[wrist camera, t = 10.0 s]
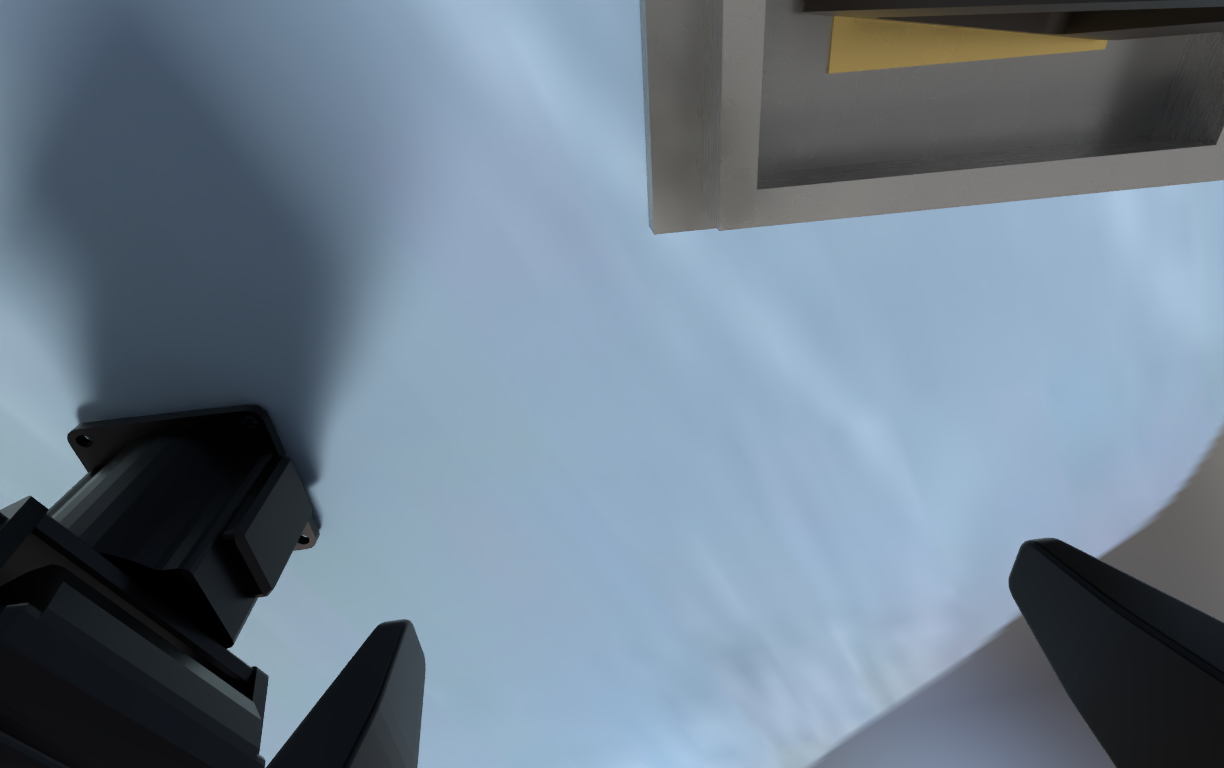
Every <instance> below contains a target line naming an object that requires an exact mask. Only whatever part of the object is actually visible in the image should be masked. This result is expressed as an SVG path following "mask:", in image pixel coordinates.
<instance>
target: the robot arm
mask: <svg viewBox="0 0 1224 768" xmlns="http://www.w3.org/2000/svg"><path fill="white" fill-rule="evenodd" d="M247 417H252V418H254V419H255V420H256V421H257V423H254V422H251V421H249V420H248V418H247ZM85 436H87V437H89V438H90V439H91V440H92V441H91V440H89V439H87V438H86V437H85ZM67 439H68V442H69V444H70V445H71V447H72V449H73V450H74V452H75V453H76V455H77V456H78V458H79V459H80V461H81V462H82V464H83V465H84V467H85V468H86V470H87V472H88V474H86V475H85V476H84V477H83V478H82V479H81V480H80V481H79V482H78V483H77V484H76V485H75V486H74V487H72V488H71V489H70V490H69V491H68V492H67V493H66V494H65V495H64V496H63V497H62V498H61V499H60V500H59V501H57V502H56V503H55V504H54V505H53V506H52V507H51V508H50V509H47V508H46V507H45V506H43V505H42V504H41V503H40V502H38V501H37V500H36V499H34V498H33V497H32V496H28V497H26V498H24V499H22V500H20V501H18V502H16V503H13V504H11V505H9V506H7V507H5V508H3V509H1V510H0V768H265V759H264V758H263V757H262V756H260V755H259V751H260V743H261V735H262V726H263V718H264V710H265V702H266V694H267V686H268V675H267V674H265V673H264V672H263V671H261V670H260V669H259V668H257V667H256V666H254V667H250V666H249V665H247V664H246V663H245V662H243V661H242V660H241V659H239V658H238V657H237V656H235V655H234V654H233V653H231V652H230V651H229V650H227V648H230V647H232V646H233V645H234V643H235V641H236V639H237V637H238V635H239V633H240V631H241V629H242V628H243V626H244V624H245V622H246V620H247V618H248V616H249V614H250V612H251V610H252V608H253V606H254V605H255V603H256V601H257V599H258V597H265V596H268V595H269V594H270V593H271V591H272V590H273V589H274V587H275V585H276V583H277V581H278V579H279V577H280V575H281V573H282V571H283V569H284V567H285V565H286V563H287V561H288V560H289V558H290V556H291V554H292V552H293V551H294V550H302V549H308V548H312V547H313V546H314V545H315V543H316V541H317V539H318V537H319V535H320V534H319V530H318V527H317V525H316V523H315V520H314V518H313V516H312V512H313V508H312V506H311V504H310V501H309V499H308V497H307V494H306V492H305V490H304V487H303V485H302V483H301V480H300V478H299V476H298V473H297V471H296V469H295V466H294V464H293V462H292V460H291V459H290V458H289V457H288V456H286V453H285V451H284V449H283V446H282V444H281V442H280V440H279V437H278V435H277V433H276V430H275V428H274V426H273V423H272V421H271V419H270V416H269V414H268V413H267V412H266V410H264V409H263V408H262V407H259V406H257V405H241V406H232V407H223V408H214V409H205V410H196V411H187V412H178V413H169V414H160V415H151V416H142V417H133V418H124V419H115V420H106V421H97V422H88V423H82V424H79V425H78V426H77V427H76V428H74V429H73V430H72V431H71V432H70V433H69V434H68V437H67ZM301 535H305V536H307V537H304V536H301ZM1009 589H1010V592H1011V594H1012V597H1013V598H1014V600H1015V602H1016V604H1017V606H1018V607H1019V609H1020V611H1021V613H1022V615H1023V616H1024V618H1025V620H1026V622H1027V624H1028V625H1029V627H1030V629H1031V631H1032V632H1033V635H1034V636H1035V638H1036V640H1037V641H1038V643H1039V645H1040V647H1041V649H1042V651H1043V652H1044V654H1045V656H1046V658H1047V660H1048V662H1049V663H1050V665H1051V667H1052V669H1053V671H1054V672H1055V674H1056V676H1057V678H1058V679H1059V681H1060V683H1061V685H1062V686H1063V688H1064V690H1065V691H1066V693H1067V695H1068V696H1069V698H1070V699H1071V701H1072V703H1073V704H1074V706H1075V707H1076V709H1077V710H1078V712H1079V713H1080V715H1081V716H1082V718H1083V719H1084V721H1085V722H1086V724H1087V725H1088V727H1089V728H1090V730H1091V731H1092V733H1093V734H1094V735H1095V737H1096V738H1097V740H1098V741H1099V743H1100V744H1101V746H1102V747H1103V749H1104V750H1105V751H1106V753H1107V754H1108V756H1109V757H1110V759H1111V761H1112V762H1113V764H1114V765H1115V767H1116V768H1224V623H1223V622H1221V621H1219V620H1217V619H1215V618H1214V617H1211V616H1210V615H1208V614H1206V613H1204V612H1202V611H1200V610H1198V609H1196V608H1194V607H1192V606H1190V605H1188V604H1186V603H1184V602H1182V601H1180V600H1178V599H1176V598H1174V597H1172V596H1170V595H1168V594H1166V593H1164V592H1162V591H1160V590H1158V589H1156V588H1154V587H1152V586H1150V585H1148V584H1146V583H1144V582H1142V581H1140V580H1138V579H1136V578H1134V577H1132V576H1130V575H1128V574H1126V573H1124V572H1122V571H1120V570H1118V569H1116V568H1114V567H1113V566H1111V565H1108V564H1107V563H1105V562H1102V561H1101V560H1099V559H1097V558H1095V557H1093V556H1091V555H1089V554H1087V553H1085V552H1083V551H1081V550H1079V549H1077V548H1075V547H1073V546H1071V545H1069V544H1067V543H1065V542H1063V541H1061V540H1058V539H1055V538H1042V539H1034V540H1028V541H1025V542H1024V543H1023V544H1022V545H1021V547H1020V549H1019V552H1018V554H1017V557H1016V560H1015V562H1014V565H1013V568H1012V570H1011V573H1010V576H1009ZM424 682H425V657H424V653H423V651H422V648H421V645H420V642H419V640H418V637H417V634H416V632H415V629H414V626H413V624H412V622H411V621H409V620H406V619H404V620H396V621H388V622H383V623H381V624H379V625H378V626H377V627H376V628H375V629H374V631H373V632H372V633H371V634H370V636H369V637H368V638H367V640H366V641H365V642H364V643H363V645H362V646H361V647H360V648H359V650H358V651H357V652H356V654H355V655H354V656H353V657H352V659H351V660H350V661H349V662H348V664H347V665H346V666H345V668H344V669H343V670H342V671H341V673H340V674H339V675H338V677H337V678H336V679H335V680H334V682H333V683H332V684H331V685H330V687H329V688H328V689H327V691H326V692H325V693H324V694H323V696H322V697H321V698H320V699H319V701H318V702H317V703H316V705H315V706H314V707H313V708H312V710H311V711H310V712H309V714H308V715H307V716H306V717H305V719H304V720H303V721H302V722H301V724H300V725H299V726H298V728H297V729H296V730H295V731H294V733H293V734H292V735H291V736H290V738H289V739H288V740H287V742H286V743H285V744H284V745H283V747H282V748H281V749H280V751H279V752H278V753H277V754H276V756H275V757H274V758H273V759H272V761H271V762H270V763H269V765H268V766H267V767H266V768H417V765H418V753H419V741H420V729H421V718H422V706H423V694H424Z"/></svg>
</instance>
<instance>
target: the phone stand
mask: <svg viewBox="0 0 1224 768" xmlns="http://www.w3.org/2000/svg"><path fill="white" fill-rule="evenodd" d="M803 13H807V14H817V15H828V16H839V17H850V18H861V19H873V20H884V21H895V22H906V23H917V24H928V25H939V26H955V27H962V28H972V29H983V30H994V31H1005V32H1016V33H1027V34H1038V35H1049V36H1060V37H1071V38H1082V39H1093V40H1126V39H1139V38H1151V37H1164V36H1176V35H1188V34H1201V33H1213V32H1224V0H805V2H804V7H803Z"/></svg>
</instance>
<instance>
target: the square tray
mask: <svg viewBox="0 0 1224 768" xmlns="http://www.w3.org/2000/svg"><path fill="white" fill-rule="evenodd" d="M804 2H805V0H640V16H641V40H642V65H643V89H644V113H645V137H646V161H647V185H648V209H649V226H650V228H651V230H652V232H653V233H654V234H663V233H673V232H683V231H693V230H703V229H713V228H717V229H718V230H719V231H722V230H732V229H742V228H752V227H762V226H772V225H782V224H792V223H801V222H811V221H821V220H831V219H841V218H851V217H861V216H871V215H881V214H891V213H901V212H911V211H921V210H930V209H940V208H950V207H960V206H970V205H980V204H990V203H1000V202H1010V201H1020V200H1030V199H1040V198H1050V197H1060V196H1069V195H1079V194H1089V193H1099V192H1109V191H1119V190H1129V189H1139V188H1149V187H1159V186H1169V185H1179V184H1189V183H1199V182H1208V181H1218V180H1224V32H1213V33H1201V34H1188V35H1176V36H1164V37H1151V38H1139V39H1126V40H1093V39H1082V38H1071V37H1060V36H1049V35H1038V34H1027V33H1016V32H1005V31H994V30H983V29H972V28H962V27H955V26H939V25H928V24H917V23H906V22H895V21H884V20H873V19H861V18H850V17H839V16H828V15H817V14H807V13H803V7H804Z"/></svg>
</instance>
